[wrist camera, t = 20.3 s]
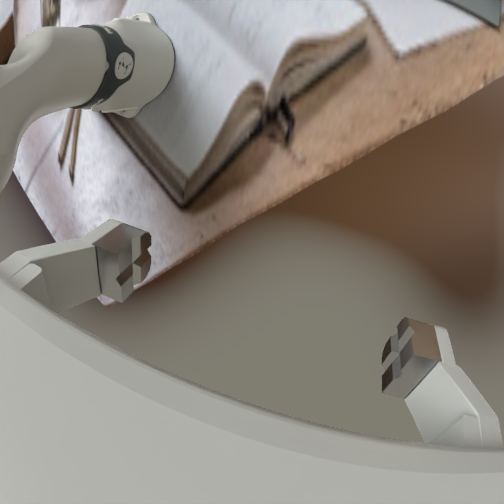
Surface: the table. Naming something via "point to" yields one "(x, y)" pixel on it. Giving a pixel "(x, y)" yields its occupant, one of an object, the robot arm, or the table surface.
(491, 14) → the base plate
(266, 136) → the table surface
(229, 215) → the table surface
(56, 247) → the robot arm
